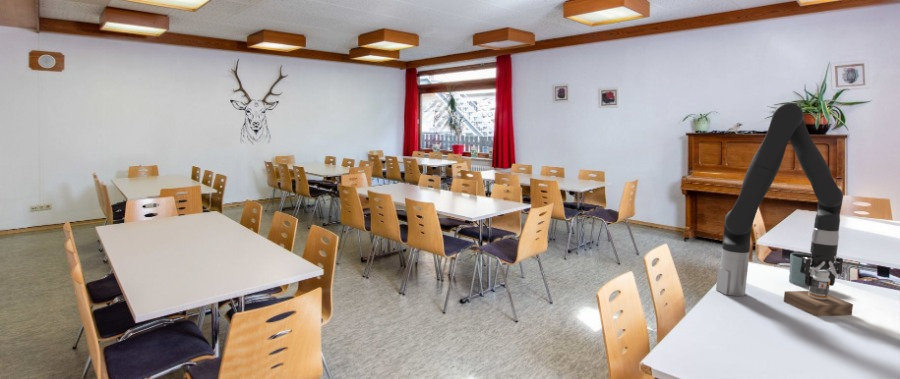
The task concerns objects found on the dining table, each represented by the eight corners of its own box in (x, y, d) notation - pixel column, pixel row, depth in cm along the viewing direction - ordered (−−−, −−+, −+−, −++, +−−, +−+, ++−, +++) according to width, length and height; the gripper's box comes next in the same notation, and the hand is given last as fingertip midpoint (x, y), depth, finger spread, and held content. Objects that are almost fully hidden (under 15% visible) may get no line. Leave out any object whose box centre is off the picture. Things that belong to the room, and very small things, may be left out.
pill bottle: (830, 301, 171) (835, 274, 170) (812, 299, 173) (816, 272, 171) (822, 295, 177) (826, 269, 175) (804, 293, 178) (808, 267, 177)
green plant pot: (790, 278, 210) (793, 251, 208) (818, 283, 203) (822, 256, 201) (784, 283, 203) (788, 255, 201) (814, 289, 196) (818, 260, 194)
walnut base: (815, 316, 168) (816, 305, 167) (783, 301, 181) (784, 291, 181) (851, 315, 169) (853, 304, 169) (817, 300, 183) (818, 290, 182)
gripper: (833, 238, 176) (827, 281, 179) (797, 239, 175) (792, 282, 177) (852, 244, 169) (846, 288, 171) (815, 244, 167) (810, 289, 170)
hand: (819, 285), depth 174 cm, fingers open, 8 cm apart
